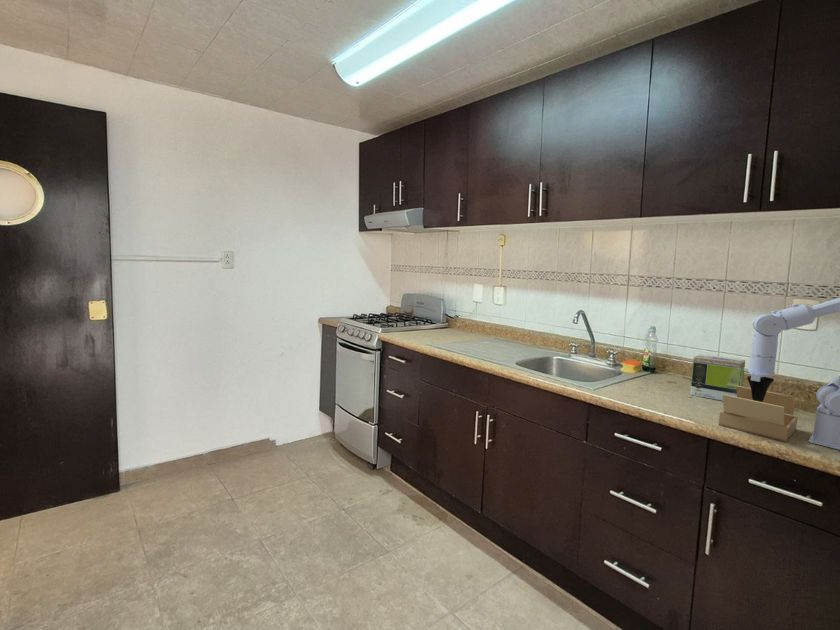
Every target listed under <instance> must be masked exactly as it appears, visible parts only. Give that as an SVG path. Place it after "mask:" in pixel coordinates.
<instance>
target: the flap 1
mask: <svg viewBox="0 0 840 630" xmlns="http://www.w3.org/2000/svg"><path fill="white" fill-rule="evenodd" d="M722 402H723V410H724V412H728V413H732V414H736V415H740V416H745V417H749V418H753V419H758V420H762V421H766V422H771V423H775V424H779V425H783V426H784V414H785V413H784V407H783V406H778V405H773V404H768V403H764V402H759V401H754V400H749V399H744V398H740V397H735V396H730V395H725V394H723V401H722Z"/></svg>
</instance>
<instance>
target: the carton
mask: <svg viewBox="0 0 840 630" xmlns="http://www.w3.org/2000/svg"><path fill="white" fill-rule="evenodd" d="M718 417H719V418H718V426H720V427H724V428H728V429H732V430H736V431H739V432H744V433H747V434H752V435H755V436H759V437H764V438H767V439H772V440H775V441H780V442H783V443H787V442H788V441H789V439H791V437H792V436H793V435H794V433H795V432H796V431H797V426H798V425H797V424H798V419H799V418H798V417H797V416H794V415H791V414H786V413H784V426H783V425H779V424H775V423H771V422H766V421H762V420H758V419H753V418H749V417H745V416H740V415H736V414H732V413H728V412H724V409H723V410H721V411H720V412H719V416H718Z"/></svg>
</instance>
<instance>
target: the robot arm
mask: <svg viewBox="0 0 840 630" xmlns="http://www.w3.org/2000/svg"><path fill="white" fill-rule="evenodd" d="M839 312H840V297H836V298H834V299H833V298H832V299H831V300H827V301H824V302H821V303H818V304H815V305H812V306H810V305H807V304H806V303H805V304H804V303H802V304H799V303H793V304H791V307H788V308H783V309H780V310H775V309H774V310H772V311H770V313H771V314H768V313H763V314H759V315H758V316H756V317H755V319H754V321H753V322H752V327H753V329H754V334H753V339H752V342H751V343H752V344H751V345H752V346H751V352H750V353H751V355H750V359H749V360H750V362H749V367H745V368H744V372H748V373H749V374H750V375H748V376H746V377H747V379H746V380H747V381H748V384H749V386H750V387H749V388H751V392H752V399H753V400H754V401H759V402H763V400H764V398H765V395H766V392H767V391H768V389H769V387H770V386H771V384H772V383H773V382H774V381H775V379H774V378H772V377H774V376H775V374H776V372H775V369H776V368H775V367H776V361H777V355H778V354H777V353H778V345H779V342H778V339H779V334H780V333H782V331H788V330H792V329H796V328H799V327H800V328H801V327H803V326H807V325H810V324H811V325H812V324H813V323H814V322H815V320H816V319H817V318H819V317H824V316H827V315H828V316H829V315H831V314H835V313H839ZM815 396H816V399H817V401H818V403H820V404H819V405H818V406H817V407H816V412H815V419H814V424H813V426H814V427H813V432H812V435H811V436H810V437H809V440H808V443H812V444H815V445H820V446H824V447H826V448H827V447H828V448H830V449H831V448H832V449H835V450H839V451H840V375H838V376H837V377H835V378H832V379H831V381H830V382H828V384H825V385H824V386H821V387H820V388H818V389H817V391H816V395H815Z"/></svg>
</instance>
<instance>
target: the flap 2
mask: <svg viewBox="0 0 840 630" xmlns="http://www.w3.org/2000/svg"><path fill="white" fill-rule="evenodd" d="M737 397H740V398H744V399H749V400H753V399H752V392H751V387H746V386H743V387H742V386H737ZM763 402H764V403H768V404H773V405H778V406H783V407H784V414H785V415H790V416H794V412H795V396H793V395H787V394H782V393H779V392H773V391H768V390H767V392H766V395H765V398H764V400H763Z"/></svg>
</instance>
